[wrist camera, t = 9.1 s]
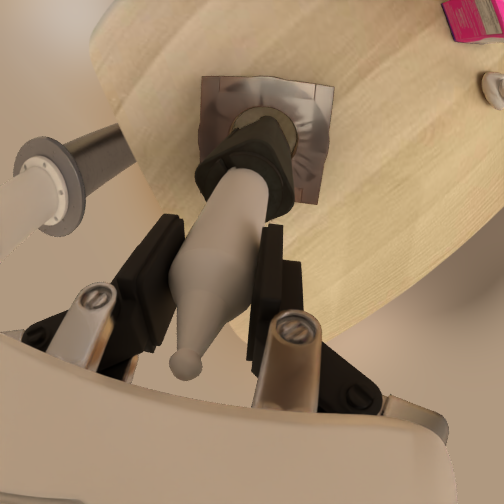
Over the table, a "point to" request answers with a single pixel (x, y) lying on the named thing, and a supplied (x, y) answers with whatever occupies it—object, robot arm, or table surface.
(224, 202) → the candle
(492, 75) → the white animal figurine
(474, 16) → the supplement box
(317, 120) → the hole plate
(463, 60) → the table surface
